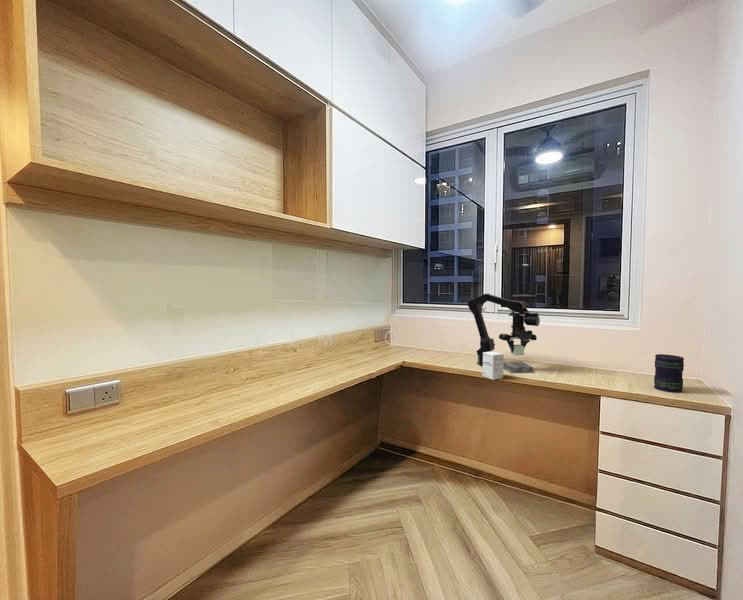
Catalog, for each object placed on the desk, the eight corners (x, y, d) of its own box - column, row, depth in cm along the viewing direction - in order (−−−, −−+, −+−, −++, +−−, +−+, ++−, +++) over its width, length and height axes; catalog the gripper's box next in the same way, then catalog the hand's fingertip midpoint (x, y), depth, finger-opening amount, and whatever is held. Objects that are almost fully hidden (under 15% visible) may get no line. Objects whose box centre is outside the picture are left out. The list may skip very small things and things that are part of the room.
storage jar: (669, 386, 157) (671, 354, 156) (689, 393, 147) (690, 359, 146) (647, 386, 157) (649, 354, 156) (665, 392, 147) (667, 359, 146)
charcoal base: (510, 373, 180) (511, 367, 180) (500, 367, 192) (501, 362, 192) (532, 372, 181) (532, 367, 181) (521, 367, 193) (521, 361, 193)
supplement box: (481, 376, 174) (482, 352, 174) (492, 374, 177) (493, 350, 177) (492, 380, 168) (493, 354, 167) (503, 378, 171) (504, 353, 170)
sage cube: (514, 355, 183) (515, 346, 183) (510, 353, 188) (510, 344, 188) (523, 355, 184) (524, 346, 183) (519, 353, 189) (519, 344, 188)
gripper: (508, 326, 176) (507, 356, 177) (542, 326, 177) (541, 355, 178) (498, 323, 187) (498, 351, 188) (531, 323, 189) (530, 351, 190)
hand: (517, 352), depth 186 cm, fingers closed on sage cube, 5 cm apart
